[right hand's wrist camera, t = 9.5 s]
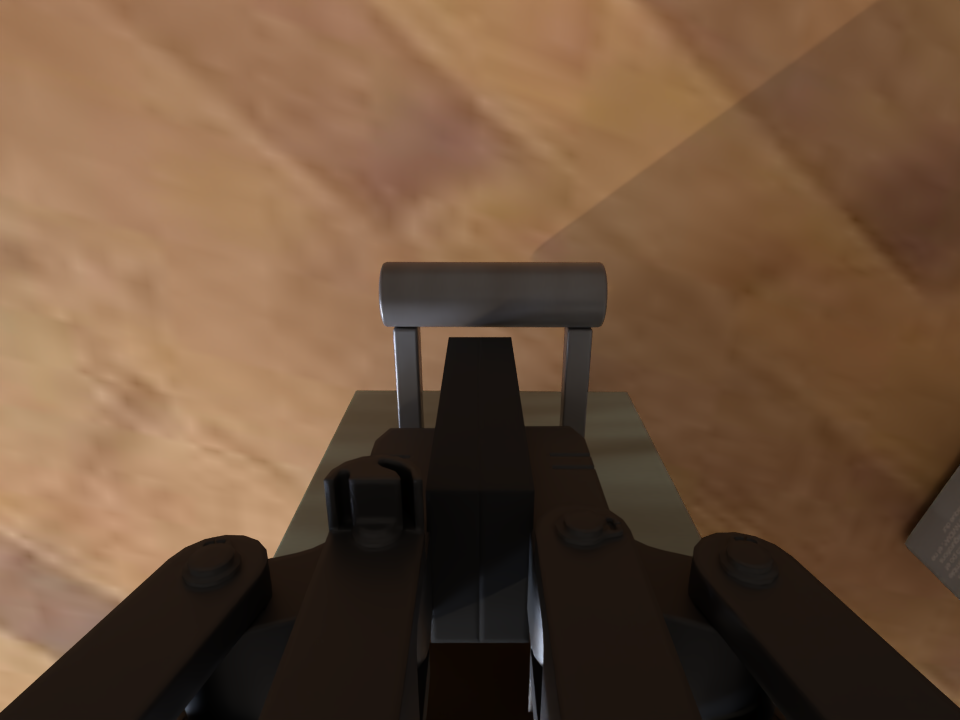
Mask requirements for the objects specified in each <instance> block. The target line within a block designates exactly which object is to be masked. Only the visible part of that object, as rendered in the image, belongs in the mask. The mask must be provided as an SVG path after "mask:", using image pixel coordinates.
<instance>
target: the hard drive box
mask: <svg viewBox="0 0 960 720" xmlns="http://www.w3.org/2000/svg"><path fill="white" fill-rule="evenodd" d="M905 545H906V546H907V548H908V549H909V550H910V551H911V552H912V553H913V554H914V555H915V556H916V557H917V558H918V559H919V560H920V561H921V562H922V563H923V564H924V565H925V566H926V567H927V568H928V569H929V570H930V571H931V572H932V573H933V574H934V575H935V576H936V577H937V578H938V579H939V580H940V581H941V582H942V583H943V584H944V585H945V586H946V587H947V588H948V589H949V590H950V591H951V592H952V593H953V594H954V595H955V596H956V597H957V598H958V599H959V600H960V465H959V467H958V468H957V469H956V471H955V472H954V474H953V475H952V476H951V478H950V479H949V481H948V482H947V483H946V485H945V486H944V487H943V489H942V490H941V492H940V493H939V494H938V496H937V497H936V499H935V500H934V502H933V503H932V504H931V506H930V507H929V509H928V510H927V511H926V513H925V514H924V516H923V517H922V518H921V520H920V521H919V522H918V524H917V525H916V527H915V528H914V529H913V531H912V532H911V534H910V535H909V536H908V538H907V540H906V542H905Z"/></svg>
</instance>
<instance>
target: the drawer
mask: <svg viewBox="0 0 960 720" xmlns="http://www.w3.org/2000/svg"><path fill="white" fill-rule="evenodd" d="M379 305H380V313H381V318H382V321H383V324H384V325H385V326H387V327H395V328H394V330H393V337H394V354H395V371H396V388H397V391H356V392H355V394H354V396H353V398H352V400H351V402H350V404H349V406H348V408H347V410H346V412H345V414H344V416H343V418H342V420H341V422H340V424H339V426H338V428H337V430H336V432H335V434H334V436H333V438H332V440H331V442H330V444H329V446H328V448H327V450H326V452H325V454H324V456H323V458H322V460H321V462H320V464H319V466H318V468H317V470H316V472H315V474H314V476H313V478H312V480H311V482H310V484H309V486H308V488H307V490H306V492H305V495H304V497H303V499H302V501H301V503H300V505H299V507H298V509H297V511H296V513H295V515H294V517H293V519H292V521H291V523H290V525H289V527H288V529H287V531H286V533H285V535H284V537H283V539H282V541H281V543H280V545H279V547H278V549H277V551H276V553H275V555H274V557H273V558H275V557H279V556H284V555H289V554H293V553H298V552H301V551H304V550H308V549H311V548H314V547H316V546H318V545H320V544H322V543H325V541H326V538H327V536H328V533H329V525H328V516H327V507H326V497H325V488H324V479H325V477H326V476H327V475H328V474H329V472H330V471H331V470H332V469H334V468H335V467H337V466H339V465H341V464H342V463H344V462H346V461H349V460H353V459H356V458H359V457H362V456H370V455H371V452H372V449H373V446H374V443H375V441H376V440H377V439H378V438H379V437H380V436H381V435H383V434H384V433H385V432H386V431H387V430H388V429H390V428H435V425H436V418H437V412H438V405H439V399H440V392H441V391H423V387H422V363H421V338H420V327H565V334H564V352H563V370H562V388H561V392H547V391H519V392H520V399H521V405H522V412H523V418H524V425H525V426H570V427H572V428H573V429H574V430H575V431H576V432H577V433H579V434H580V435H581V436H582V437H583V438H585V440H586V443H587V446H588V449H589V452H590V457H591V458H592V461H593V464H594V469H596V472H597V475H598V478H599V481H600V484H601V487H602V490H603V493H604V495H605V498H606V501H607V504H608V507H609V510H610V511H612V512H613V513H614V514H616V515H617V516H619V517H620V518H622V519H623V520H624V521H625V523H626V524H627V526H628V527H629V529H630V530H631V532H632V535H633V537H634V539H635V540H637V541H639V542H641V543H643V544H645V545H648V546H651V547H654V548H658V549H661V550H665V551H669V552H674V553H679V554H683V555H688V556H693V550H694V546H695V545H696V544H697V543H698V542H699V541H700V540H701V539H702V538H701V536H700V534H699V533H698V531H697V529H696V527H695V525H694V523H693V521H692V519H691V517H690V515H689V513H688V511H687V509H686V507H685V505H684V503H683V501H682V499H681V497H680V495H679V493H678V491H677V489H676V487H675V485H674V483H673V481H672V479H671V477H670V475H669V474H668V472H667V470H666V468H665V466H664V464H663V462H662V460H661V458H660V456H659V454H658V452H657V450H656V448H655V446H654V444H653V442H652V440H651V438H650V436H649V434H648V432H647V430H646V428H645V426H644V424H643V422H642V420H641V418H640V417H639V415H638V413H637V411H636V409H635V407H634V405H633V403H632V401H631V399H630V397H629V395H628V393H627V392H588V385H589V371H590V357H591V344H592V329H591V327H600V326H602V324H603V321H604V318H605V314H606V307H607V276H606V271H605V268H604V265H603V264H602V263H599V262H386V263H384V264H383V265H382V268H381V272H380V279H379ZM429 654H430V682H429V693H428V705H427V716H426V720H534V715H533V712H528V704H529V679H530V654H531V641H530V631H529V643H431V634H430V644H429Z"/></svg>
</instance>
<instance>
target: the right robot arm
mask: <svg viewBox="0 0 960 720" xmlns="http://www.w3.org/2000/svg"><path fill="white" fill-rule="evenodd" d="M324 488H325V497H326V507H327V516H328V525H329V533H328V536H327V538H326V541H325V543H322V544H320V545H318V546H316V547H314V548H311V549H308V550H304V551H301V552H298V553H293V554H289V555H284V556H279V557H275V558H270V559H268V557H267V550H266V549H265V548H264V546H263V545H262V544H261V543H260V542H259V541H258V540H255V539H252V538H250V537H247V536H244V535H223V536H218V537H213V538H208V539H204V540H202V541H200V542H197V543H195V544H192V545H190V546H188V547H185V548H184V549H182V550H181V551H180V552H178V553H177V554H175V555H174V556H172V557H171V558H170V559H168V560H167V561H166V562H165V563H164V564H163V565H162V566H161V567H159V568H158V569H157V570H156V571H155V572H154V573H153V574H152V575H151V576H150V577H149V578H147V579H146V580H145V581H144V582H143V583H142V584H141V585H140V586H139V587H138V588H136V589H135V590H134V591H133V592H132V593H131V594H130V595H129V596H128V597H127V598H126V599H124V600H123V601H122V602H121V603H120V604H119V605H118V606H117V607H116V608H115V609H113V610H112V611H111V612H110V613H109V614H108V615H107V616H106V617H105V618H104V619H103V620H101V621H100V622H99V623H98V624H97V625H96V626H95V627H94V628H93V629H92V630H90V631H89V632H88V633H87V634H86V635H85V636H84V637H83V638H82V639H81V640H80V641H78V642H77V643H76V644H75V645H74V646H73V647H72V648H71V649H70V650H69V651H67V652H66V653H65V654H64V655H63V656H62V657H61V658H60V659H59V660H58V661H56V662H55V663H54V664H53V665H52V666H51V667H50V668H49V669H48V670H47V671H46V672H44V673H43V674H42V675H41V676H40V677H39V678H38V679H37V680H36V681H35V682H33V683H32V684H31V685H30V686H29V687H28V688H27V689H26V690H25V691H24V692H23V693H21V694H20V695H19V696H18V697H17V698H16V699H15V700H14V701H13V702H12V703H10V704H9V705H8V706H7V707H6V708H5V709H4V710H3V711H2V712H1V713H0V720H426V716H427V705H428V693H429V682H430V654H429V644H430V634H431V643H529V631H530V641H531V654H530V679H529V704H528V712H533V715H534V720H960V708H959V707H958V706H957V705H956V704H954V703H953V702H952V701H951V700H950V699H949V698H948V697H947V696H946V695H945V694H943V693H942V692H941V691H940V690H939V689H938V688H937V687H936V686H935V685H933V684H932V683H931V682H930V681H929V680H928V679H927V678H926V677H925V676H924V675H922V674H921V673H920V672H919V671H918V670H917V669H916V668H915V667H914V666H913V665H911V664H910V663H909V662H908V661H907V660H906V659H905V658H904V657H903V656H901V655H900V654H899V653H898V652H897V651H896V650H895V649H894V648H893V647H892V646H890V645H889V644H888V643H887V642H886V641H885V640H884V639H883V638H882V637H880V636H879V635H878V634H877V633H876V632H875V631H874V630H873V629H872V628H871V627H869V626H868V625H867V624H866V623H865V622H864V621H863V620H862V619H861V618H859V617H858V616H857V615H856V614H855V613H854V612H853V611H852V610H851V609H850V608H848V607H847V606H846V605H845V604H844V603H843V602H842V601H841V600H840V599H839V598H837V597H836V596H835V595H834V594H833V593H832V592H831V591H830V590H829V589H827V588H826V587H825V586H824V585H823V584H822V583H821V582H820V581H819V580H818V579H816V578H815V577H814V576H813V575H812V574H811V573H810V572H809V571H808V570H806V569H805V568H804V567H803V566H802V565H801V564H800V563H799V562H798V561H797V560H795V559H794V558H793V557H792V556H791V555H789V554H788V553H786V552H785V551H784V550H782V549H781V548H779V547H778V546H776V545H775V544H772V543H770V542H767V541H765V540H763V539H760V538H758V537H755V536H751V535H747V534H741V533H736V532H730V533H715V534H712V535H709V536H706V537H703V538H702V539H701V540H700V541H699V542H698V543H697V544H696V545H695V546H694V550H693V556H688V555H683V554H679V553H674V552H669V551H665V550H661V549H658V548H654V547H651V546H648V545H645V544H643V543H641V542H639V541H637V540H635V539H634V537H633V535H632V532H631V530H630V529H629V527H628V526H627V524H626V523H625V521H624V520H623V519H622V518H620V517H619V516H617V515H616V514H614V513H613V512H612V511H610V510H609V507H608V504H607V501H606V498H605V495H604V493H603V490H602V487H601V484H600V481H599V478H598V475H597V472H596V469H594V464H593V461H592V458H591V457H590V452H589V449H588V446H587V443H586V440H585V438H583V437H582V436H581V435H580V434H579V433H577V432H576V431H575V430H574V429H573V428H572V427H570V426H525V425H524V418H523V412H522V405H521V399H520V392H519V386H518V379H517V373H516V366H515V360H514V353H513V347H512V340H511V337H449V340H448V347H447V353H446V360H445V366H444V373H443V379H442V386H441V392H440V399H439V405H438V412H437V418H436V425H435V428H390V429H388V430H387V431H386V432H385V433H384V434H383V435H381V436H380V437H379V438H378V439H377V440H376V441H375V443H374V446H373V449H372V452H371V455H370V456H362V457H359V458H356V459H353V460H349V461H346V462H344V463H342V464H341V465H339V466H337V467H335V468H334V469H332V470H331V471H330V472H329V474H328V475H327V476H326V477H325V479H324Z"/></svg>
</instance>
